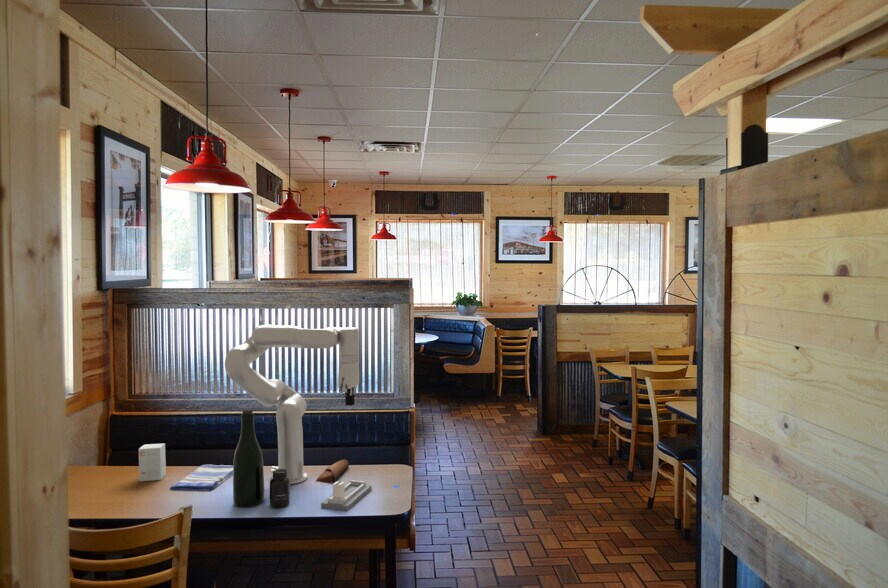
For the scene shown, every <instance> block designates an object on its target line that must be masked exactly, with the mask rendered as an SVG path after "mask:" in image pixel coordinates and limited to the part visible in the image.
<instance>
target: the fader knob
mask: <svg viewBox="0 0 888 588" xmlns="http://www.w3.org/2000/svg"><path fill="white" fill-rule="evenodd" d="M345 484H346V483H345V481H341V480H339V481H338V480H336V481H335V482H333V483H332V494H333V498H337V499H345Z"/></svg>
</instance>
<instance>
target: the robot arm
mask: <svg viewBox="0 0 888 588" xmlns="http://www.w3.org/2000/svg"><path fill="white" fill-rule="evenodd" d="M337 345H339V368H338V379H337V380H338V381H337V382H338V383H337V385H338V388H339V389H342V390H341V392H342V393H344V397H345V406H354V405H355V394H356V389H357V388H358V386H359V384H360V367H359V366H360V365H359V363H360V333H359V329H358V328H357V327H354V326H350V327H348V326H347V327H336V326H328V327H324V328H303V327H299V326H297V325H273V324H268V323H265V324H261V325H258V326H257V327H255V328H254V329H253V331H252V333H251V336H250V337H248V338H247V339H246V340H245V341H244V342H243V343H241V344H239V345H236V346H234V347H231V349H230V350H229V351H228V352H227V354H226V356H225V359H224V370H225V372H226V374H227V376H228V378H229V379H230V381H232V382H234V383H235V384H236V386H238V387H240V388H241V389H242V390H244V391H245V392H246V393H247V394H248V395H249V396H251V397H252V398H253V399H255V400H256V401H257V402H258V403H259V404H261V405H262V406H264V407H272V406H276V407H277V409H276V414H275V416H276V417H275V418H276V427H277V453H278V455H277V458H278V459H277V460H278V463H277V464H278V466H277V465H276V466H274V465H272V466H271V469H270V473H271V474H273V471H274V470H277V469H286V470H287V476H286V477H288V478H289V479H290V485H295V484H300V483H302V482H304V481H306V480H307V479H308V474H307V472H305V471H304V438H303V437H304V432H303V422H302V421H303V419H302V418H303V416H304V414H305V413H306V411H307V401H306V399H305V398H304V396H302V395H301V394H300V393H298V392H297V391H296V390H294V389H293V388H292V387H290V386H289V385H288V384H287V383H286V382H285V381H284V380H283V381H282V380H280V379H277V378H270V379H268V378H266V377H265V376H264V375H262V374H261V373H260V372H259V371H257V370H256V369H254V368H253V367H251V366H250V364H252V363H253V362H255V361H257V360H258V358H259V357H261V356H262V355H263V354H264V353H265V352H267V350H269V349H270V348H296V349H331V348H332V347H335V346H337Z"/></svg>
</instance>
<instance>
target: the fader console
mask: <svg viewBox="0 0 888 588" xmlns="http://www.w3.org/2000/svg"><path fill="white" fill-rule="evenodd" d="M371 490H372V485H371V484H366V481H362V480H353V479H350V481H349V482H346V483H345V499H337V498H333V493H332V494H331V495H330V496H328V497H326V499H324V500H322V501H321V503H320V507H321V508H323V507H324V508H323V509H333V510H340V511H341V510H342V511H349V510H350V509H351V508H352V507H353V506H354V505H356V503H358V502H359V501H360V500H361V499H363V498H364V497H365V496H366V495H367V494H369V492H370V491H371ZM366 493H367V494H366ZM365 494H366V495H365Z"/></svg>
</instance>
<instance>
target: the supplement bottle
mask: <svg viewBox="0 0 888 588" xmlns="http://www.w3.org/2000/svg"><path fill="white" fill-rule="evenodd" d="M286 476H287V470H286V469H277V470H274V471H273V473H272V478H271V479H270V481H269V506H270V508H273V509H283V508H286V507H288V506H289V505H290V503H291V484H290V479H289V478H288V477H286Z"/></svg>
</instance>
